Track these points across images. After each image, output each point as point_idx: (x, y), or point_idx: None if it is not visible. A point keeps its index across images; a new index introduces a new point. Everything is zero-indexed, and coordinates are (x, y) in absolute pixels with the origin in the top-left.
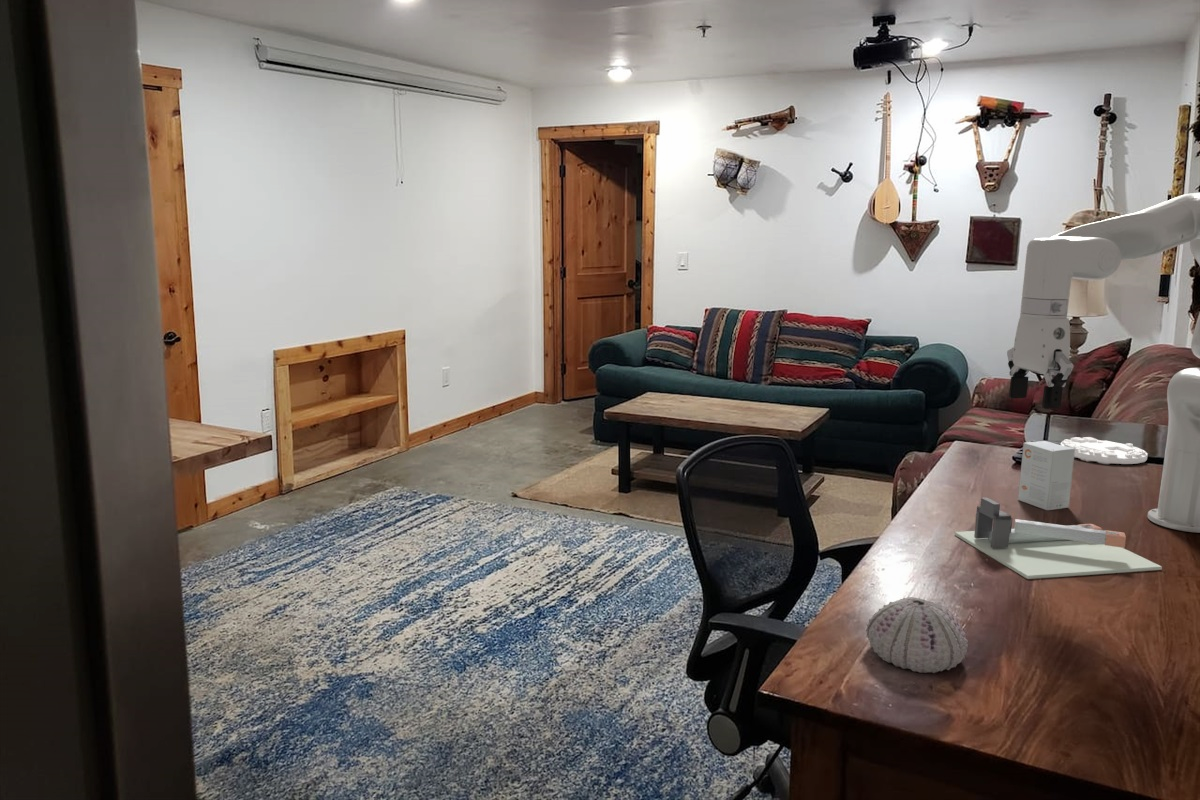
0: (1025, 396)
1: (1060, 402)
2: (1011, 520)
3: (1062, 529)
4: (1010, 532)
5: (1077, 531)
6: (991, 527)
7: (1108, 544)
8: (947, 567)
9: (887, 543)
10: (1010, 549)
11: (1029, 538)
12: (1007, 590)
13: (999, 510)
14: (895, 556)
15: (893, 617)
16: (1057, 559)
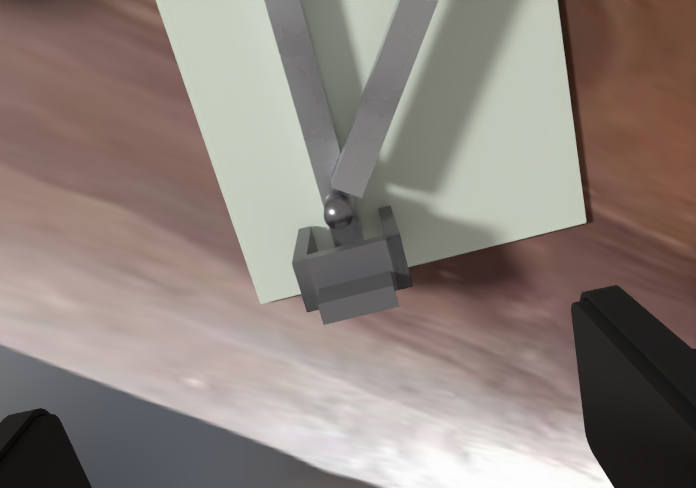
0: (55, 425)
1: (644, 313)
2: (349, 206)
3: (414, 58)
4: (349, 195)
5: (433, 11)
6: (310, 238)
7: None
8: (503, 379)
9: (348, 468)
10: (392, 198)
11: (334, 126)
12: (647, 290)
13: (345, 255)
14: (436, 468)
15: None
16: (467, 91)
